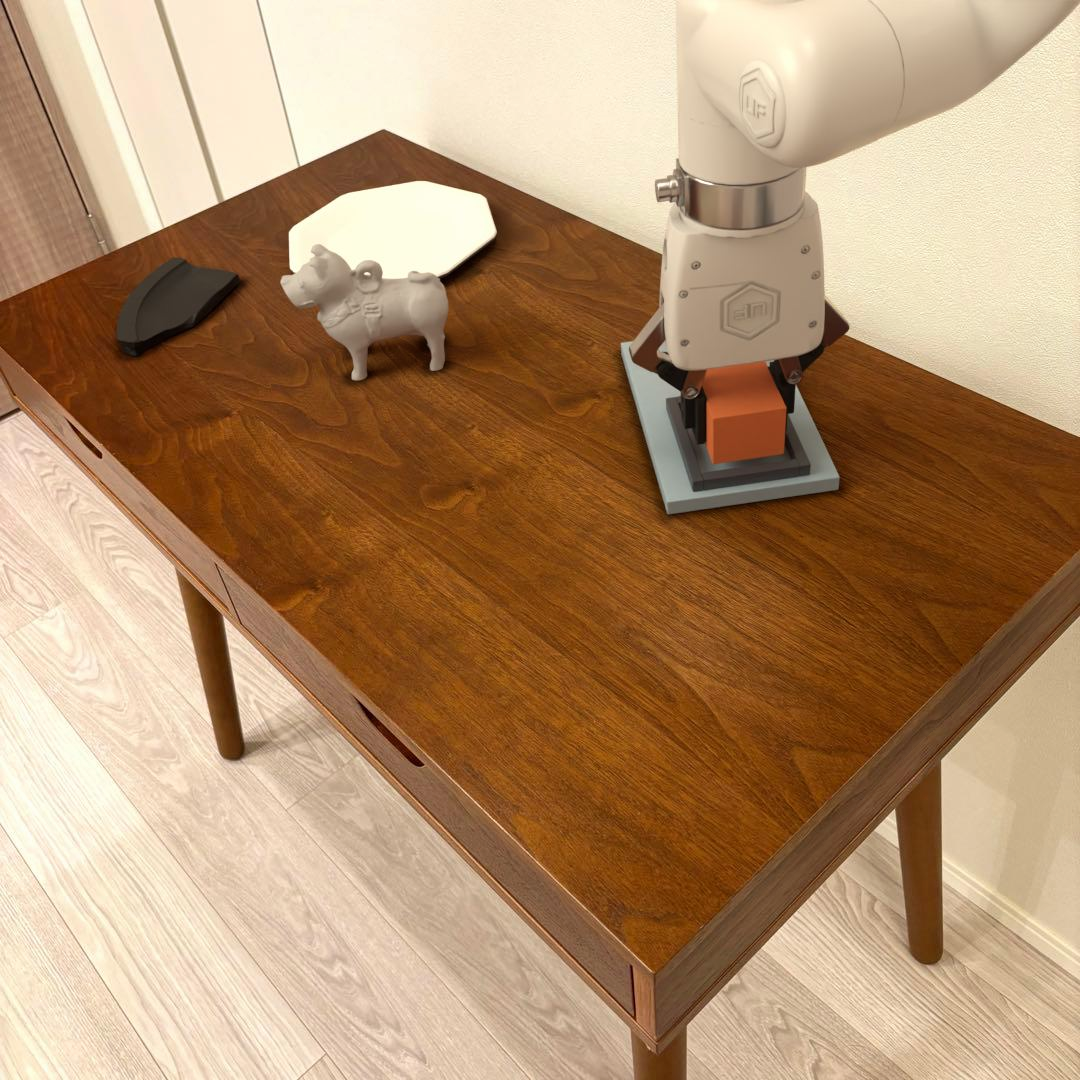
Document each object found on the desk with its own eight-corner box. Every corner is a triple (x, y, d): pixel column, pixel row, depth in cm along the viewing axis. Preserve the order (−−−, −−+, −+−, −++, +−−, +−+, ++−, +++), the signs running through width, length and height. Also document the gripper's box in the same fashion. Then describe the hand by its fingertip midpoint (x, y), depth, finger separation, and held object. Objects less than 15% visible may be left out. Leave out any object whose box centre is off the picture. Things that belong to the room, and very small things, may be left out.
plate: (291, 216, 118) (287, 202, 116) (479, 183, 119) (477, 170, 118) (294, 315, 103) (290, 300, 102) (508, 277, 104) (506, 262, 103)
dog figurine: (308, 354, 98) (276, 242, 91) (455, 333, 98) (435, 219, 91) (305, 389, 94) (271, 275, 87) (458, 367, 94) (437, 251, 87)
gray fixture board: (765, 334, 94) (768, 278, 90) (838, 490, 79) (845, 430, 76) (621, 354, 94) (618, 299, 90) (667, 515, 79) (665, 456, 75)
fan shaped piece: (83, 347, 103) (76, 331, 102) (176, 271, 111) (170, 256, 110) (156, 361, 100) (150, 345, 99) (245, 282, 108) (240, 266, 107)
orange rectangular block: (759, 395, 84) (760, 350, 81) (784, 454, 79) (786, 407, 76) (691, 405, 84) (691, 360, 81) (712, 464, 79) (712, 418, 76)
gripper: (611, 236, 66) (626, 477, 78) (902, 194, 66) (871, 441, 79) (593, 179, 72) (610, 413, 84) (861, 140, 72) (839, 379, 84)
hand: (736, 424), depth 81 cm, fingers closed on orange rectangular block, 5 cm apart
